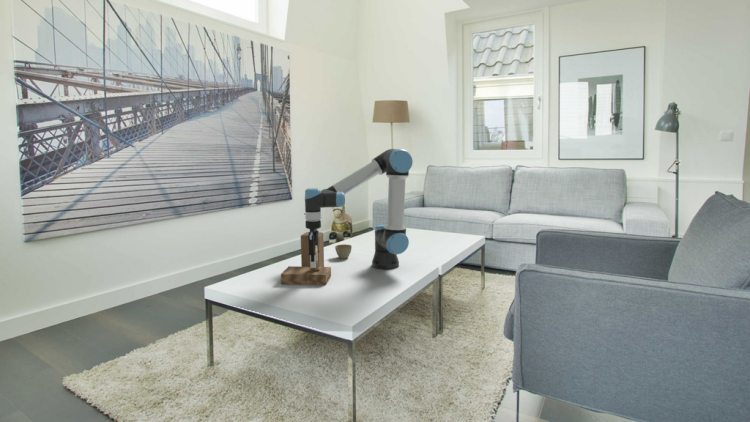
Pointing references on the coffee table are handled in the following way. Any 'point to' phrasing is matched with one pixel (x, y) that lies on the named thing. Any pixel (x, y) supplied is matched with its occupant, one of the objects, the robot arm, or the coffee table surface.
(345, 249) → the flower pot
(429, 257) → the coffee table surface
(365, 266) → the coffee table surface
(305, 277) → the board
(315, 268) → the peg
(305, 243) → the block
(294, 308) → the coffee table surface
